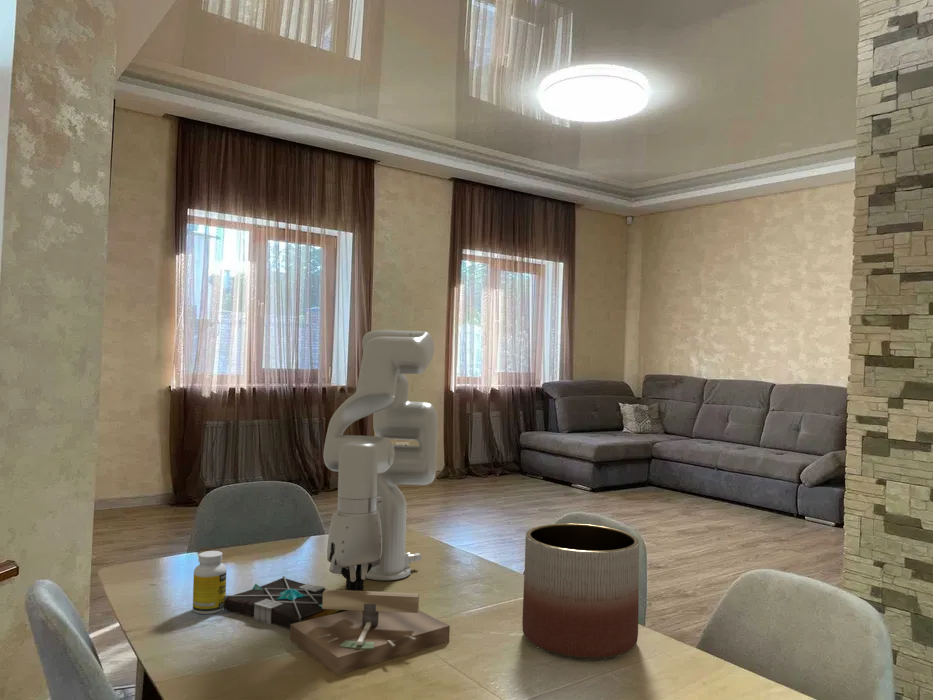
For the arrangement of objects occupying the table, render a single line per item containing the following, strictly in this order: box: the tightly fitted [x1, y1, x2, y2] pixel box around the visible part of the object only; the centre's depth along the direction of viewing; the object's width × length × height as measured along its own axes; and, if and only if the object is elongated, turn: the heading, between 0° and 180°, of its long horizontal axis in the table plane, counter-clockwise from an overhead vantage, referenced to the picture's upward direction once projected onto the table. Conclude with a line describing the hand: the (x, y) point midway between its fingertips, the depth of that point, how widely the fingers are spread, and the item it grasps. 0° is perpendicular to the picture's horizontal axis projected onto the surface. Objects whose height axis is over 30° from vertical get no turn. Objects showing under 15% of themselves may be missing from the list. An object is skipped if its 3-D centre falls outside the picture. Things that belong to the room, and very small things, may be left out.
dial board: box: [289, 609, 451, 676], centre depth 134 cm, size 24×20×3 cm
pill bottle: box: [192, 550, 227, 615], centre depth 148 cm, size 6×6×12 cm
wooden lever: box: [322, 588, 420, 645], centre depth 130 cm, size 12×18×6 cm, turn 87°
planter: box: [521, 522, 640, 661], centre depth 138 cm, size 22×22×20 cm
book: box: [223, 575, 348, 630], centre depth 150 cm, size 22×17×5 cm
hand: (354, 599), depth 139 cm, fingers closed
